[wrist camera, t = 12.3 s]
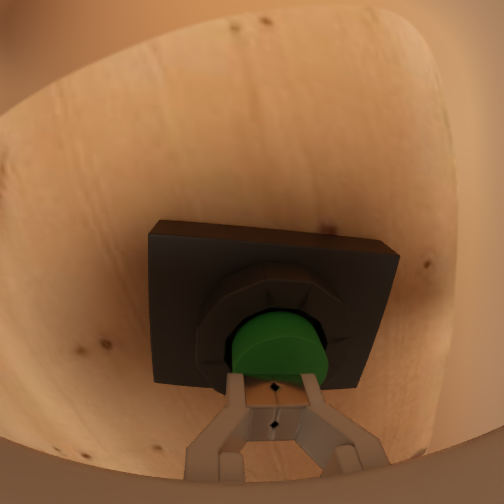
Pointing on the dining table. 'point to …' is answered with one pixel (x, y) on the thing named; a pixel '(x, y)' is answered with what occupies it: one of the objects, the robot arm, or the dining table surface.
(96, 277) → the dining table surface
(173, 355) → the control block
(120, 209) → the dining table surface
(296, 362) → the button
